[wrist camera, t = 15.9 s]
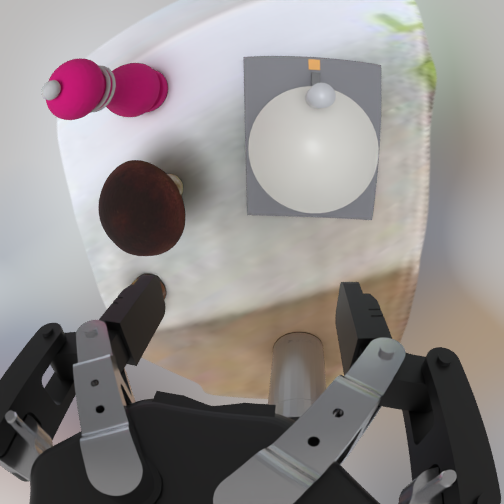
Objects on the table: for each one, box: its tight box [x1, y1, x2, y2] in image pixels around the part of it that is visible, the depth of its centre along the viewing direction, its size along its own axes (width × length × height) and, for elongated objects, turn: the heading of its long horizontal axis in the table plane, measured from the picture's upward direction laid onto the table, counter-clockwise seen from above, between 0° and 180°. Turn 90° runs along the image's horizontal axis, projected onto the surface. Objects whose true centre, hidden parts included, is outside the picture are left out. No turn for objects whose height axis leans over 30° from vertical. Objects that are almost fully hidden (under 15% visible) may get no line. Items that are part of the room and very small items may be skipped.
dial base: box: [244, 56, 381, 220], centre depth 33 cm, size 21×17×1 cm
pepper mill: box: [42, 59, 168, 120], centre depth 24 cm, size 7×7×20 cm
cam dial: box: [248, 72, 379, 213], centre depth 30 cm, size 18×16×7 cm
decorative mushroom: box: [99, 160, 185, 256], centre depth 33 cm, size 11×11×15 cm
